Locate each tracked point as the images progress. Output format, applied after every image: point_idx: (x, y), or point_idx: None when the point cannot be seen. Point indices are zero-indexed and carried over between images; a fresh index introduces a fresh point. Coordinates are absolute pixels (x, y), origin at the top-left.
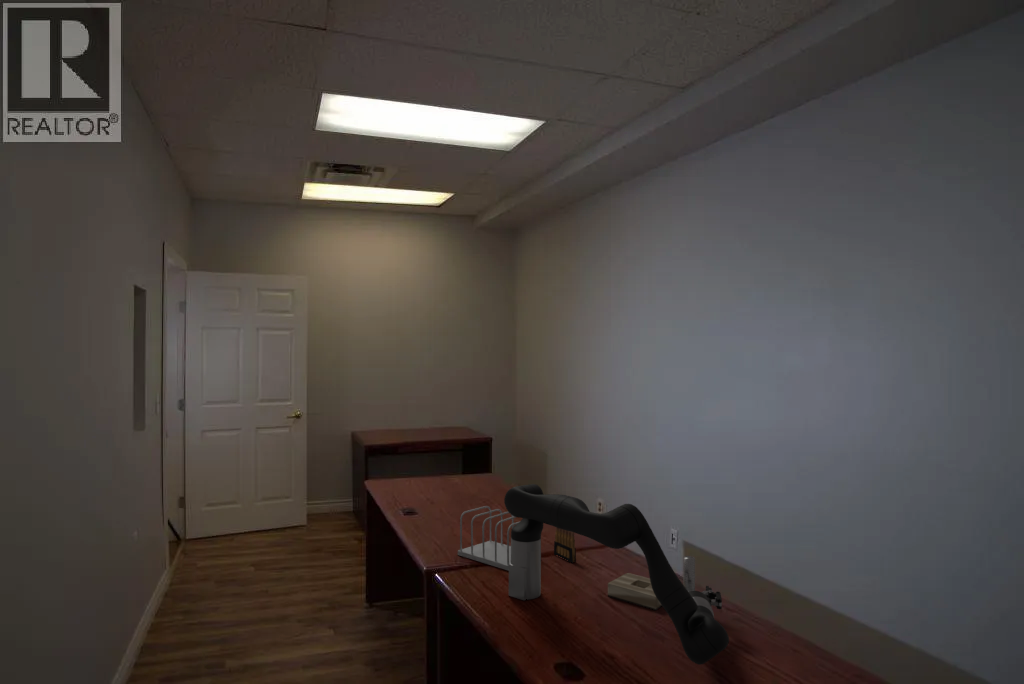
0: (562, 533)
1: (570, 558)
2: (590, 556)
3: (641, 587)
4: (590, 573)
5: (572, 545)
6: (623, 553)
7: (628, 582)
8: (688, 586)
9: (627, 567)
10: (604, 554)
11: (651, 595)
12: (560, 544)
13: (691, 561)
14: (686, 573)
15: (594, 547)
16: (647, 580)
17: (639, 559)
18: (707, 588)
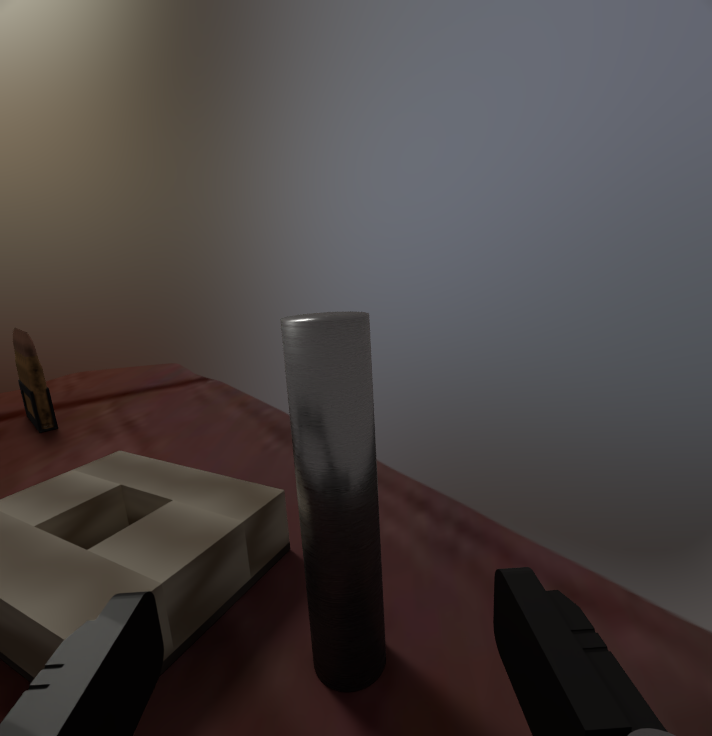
0: (19, 354)
1: (35, 419)
2: (126, 407)
3: (139, 517)
4: (47, 461)
5: (32, 382)
6: (222, 390)
7: (47, 511)
8: (329, 533)
9: (199, 424)
10: (171, 398)
11: (57, 634)
12: (22, 385)
13: (338, 336)
14: (307, 439)
15: (165, 386)
16: (167, 481)
17: (251, 399)
18: (554, 655)
